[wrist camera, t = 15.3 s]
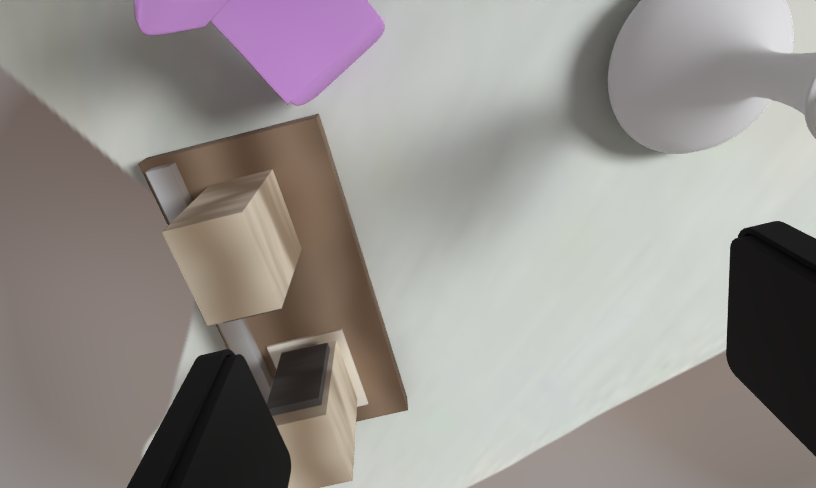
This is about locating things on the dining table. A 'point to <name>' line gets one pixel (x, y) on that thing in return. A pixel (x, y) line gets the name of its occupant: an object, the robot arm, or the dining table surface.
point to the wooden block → (315, 414)
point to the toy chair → (277, 35)
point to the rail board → (323, 248)
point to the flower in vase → (706, 71)
